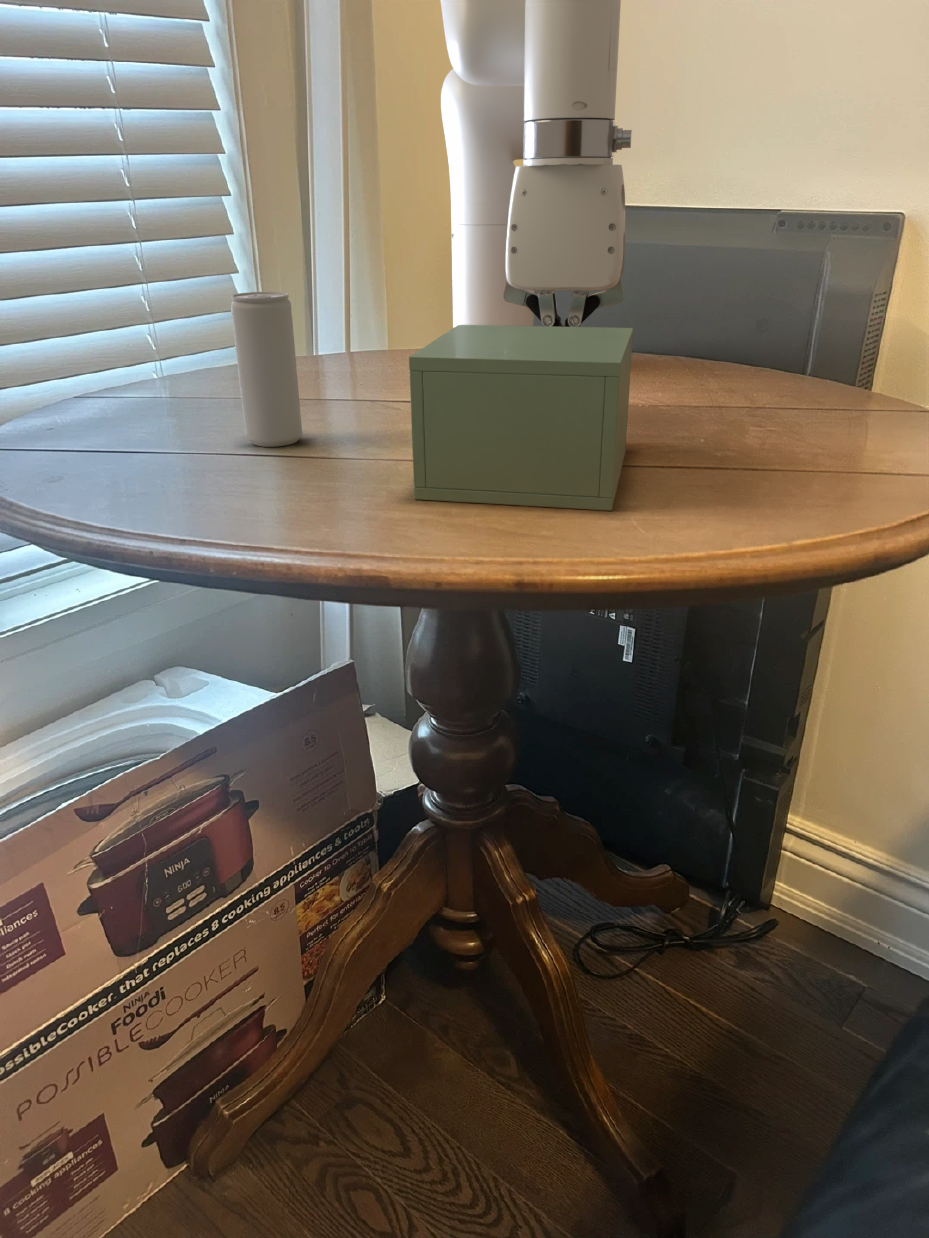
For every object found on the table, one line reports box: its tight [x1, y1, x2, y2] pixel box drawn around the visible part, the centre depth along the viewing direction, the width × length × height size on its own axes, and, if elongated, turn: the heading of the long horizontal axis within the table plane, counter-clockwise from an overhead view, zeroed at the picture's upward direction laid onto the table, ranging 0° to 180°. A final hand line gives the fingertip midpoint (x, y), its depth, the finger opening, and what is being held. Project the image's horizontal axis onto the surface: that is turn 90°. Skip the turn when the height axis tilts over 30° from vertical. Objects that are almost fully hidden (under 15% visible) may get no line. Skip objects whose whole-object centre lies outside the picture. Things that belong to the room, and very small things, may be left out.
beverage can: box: [230, 291, 303, 448], centre depth 77 cm, size 5×5×12 cm
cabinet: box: [408, 325, 634, 512], centre depth 68 cm, size 15×14×10 cm
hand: (561, 370), depth 85 cm, fingers closed
